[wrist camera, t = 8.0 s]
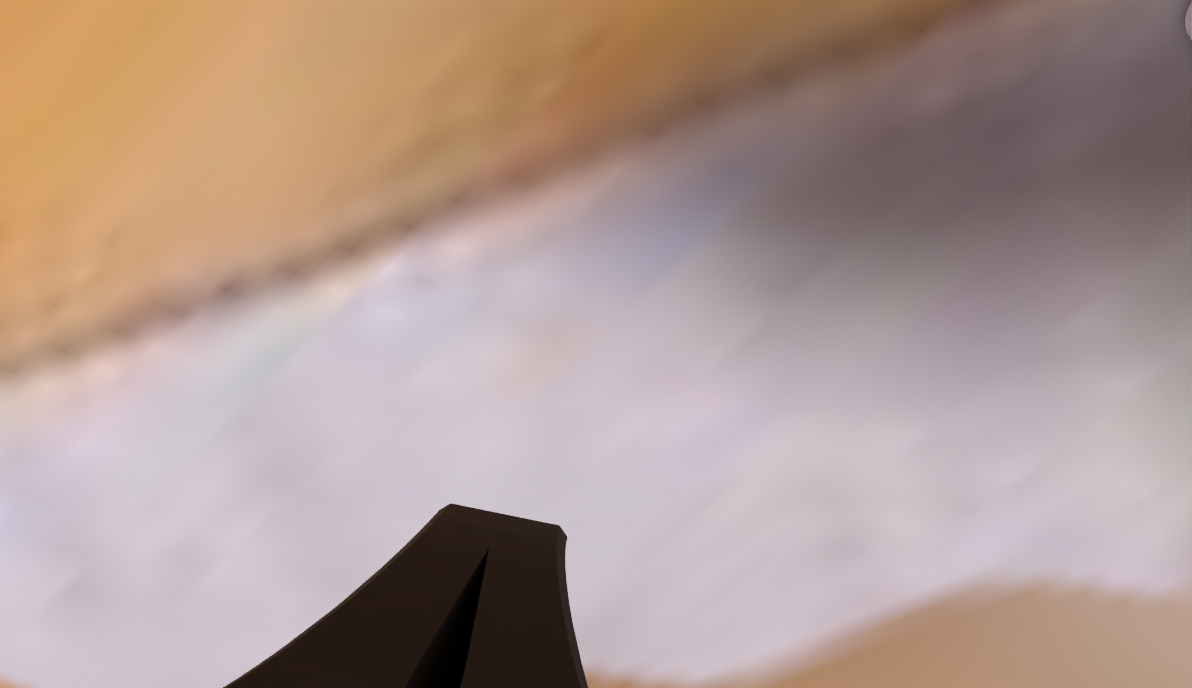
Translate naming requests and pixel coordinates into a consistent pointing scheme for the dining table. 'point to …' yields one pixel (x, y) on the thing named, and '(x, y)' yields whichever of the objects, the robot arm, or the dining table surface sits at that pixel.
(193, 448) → the dining table surface
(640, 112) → the dining table surface
